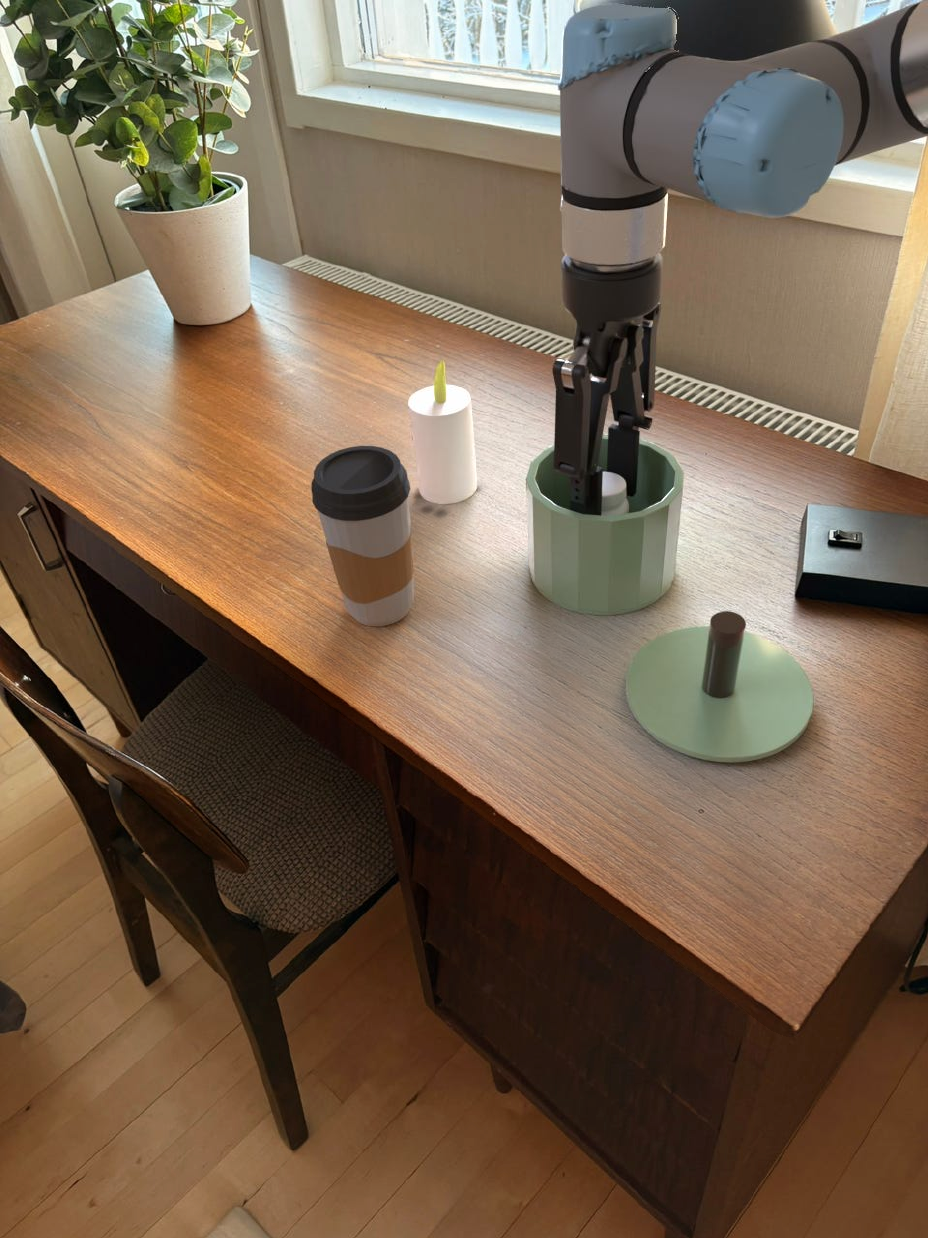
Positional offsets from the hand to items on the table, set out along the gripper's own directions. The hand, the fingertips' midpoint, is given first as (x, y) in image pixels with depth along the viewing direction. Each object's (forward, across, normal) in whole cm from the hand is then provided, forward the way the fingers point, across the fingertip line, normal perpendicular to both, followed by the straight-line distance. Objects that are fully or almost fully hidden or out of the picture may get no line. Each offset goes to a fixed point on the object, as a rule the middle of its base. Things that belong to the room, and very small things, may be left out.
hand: (603, 509), depth 85 cm
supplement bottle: (+6, 0, 0) cm, 6 cm away
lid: (+6, +10, +16) cm, 20 cm away
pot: (+7, 0, 0) cm, 7 cm away
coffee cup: (+7, +15, -15) cm, 22 cm away
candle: (+7, -4, -21) cm, 22 cm away
